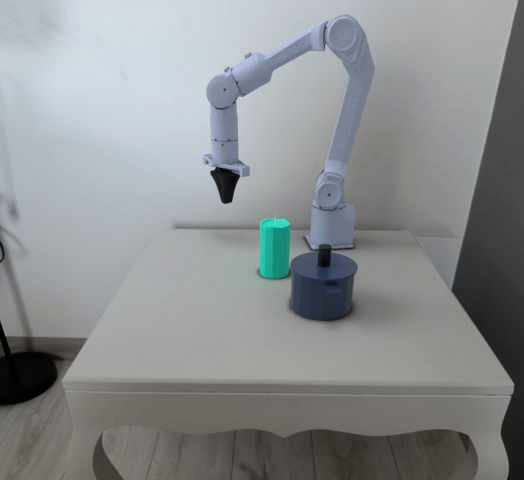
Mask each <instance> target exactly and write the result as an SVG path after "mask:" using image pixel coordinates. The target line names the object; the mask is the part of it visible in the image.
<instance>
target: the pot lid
mask: <svg viewBox="0 0 524 480" xmlns="http://www.w3.org/2000/svg"><path fill="white" fill-rule="evenodd" d="M317 250H318V251H310V252H304V253H301V254H298V255H296V256H295V257H293V258H292V259H291V260H290V262H289V269H290V271H291V272H292V271H293V272H294V273H295V274H296V275H298V276H300V277H302V278H305V279H308V280H312V281H319V282H336V281H342V280H346V279H348V278H351V277H352V276H354V275H355V276H356V274H357V273H358V268H359V267H358V264H357V262H356V261H355V260H354V259H353V258H351V257H350V256H347V255H344V254H341V253H338V252H332V250H333V249H332V246H331V245H329V244H320V245H319V249H317Z"/></svg>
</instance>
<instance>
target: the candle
mask: <svg viewBox="0 0 524 480" xmlns="http://www.w3.org/2000/svg"><path fill="white" fill-rule="evenodd" d="M291 227H292V226H291V222H289V221H288V220H287V219H285V218H277V217H276V214H274V217H268V218H264V219H262V220H260V222H259V274H260V275H261V276H262V277H264V278H267V279H272V280H273V279H275V280H276V279H282V278H286V277H288V275H289V274H290V253H291V249H290V248H291Z"/></svg>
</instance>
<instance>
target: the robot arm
mask: <svg viewBox="0 0 524 480" xmlns="http://www.w3.org/2000/svg"><path fill="white" fill-rule="evenodd" d="M366 33H367V32H365V30H364V28H363V27H362V26H361V24H360V23H359V21H358V20H357V19H356V18H355V17H354V16H353V15H351V14H349V13H341V14H338V15H335V16H334V17H332V19H331V20H330V19H327V20H325V21H322V22H319V23H317V24H314V25H312V26H309V27H308V28H306V29H304V30H303V31H301V32H300V33H298V34H296V35H295V36H293V37H292V38H290V39H289V40H287V41H286V42H284V43H283V44H281V45H280V46H278V47H276V48H275V49H273V50H272V51H270V52H269V53H267V54H264V53H262V52H259V51H255V52H253V53H252V51H249V52H248V53H246V54H244V56H243V57H244V59H242V60H241V61H239V62H237V63H236V64H234V65H232V66H229V65H228V66H226V67H224V68H223V72H224V73H220V74H217V75H214V76H213V78H211V79H210V80H209V82H208V83H207V84H206V90H205V95H206V98H207V101H208V102H209V111H210V113H209V114H210V115H209V122H210V126H209V127H210V143H211V153H206V154H202V163H203V164H204V165H208V166H209V167H211V168H214V169H213V170H210V171H209V174H210V176H211V178H212V180H213V181H214V184H215V185H216V188H217V191H218V195H219V198H220V199H219V200H220V201H221V203H222V204H224V205H228V204H232V203H233V201H234V200H233V199H234V195H235V191H236V187H237V184H238V183H239V180H240V178H245V177H249V176H251V166H250V165H248V164H246V163H244V162H243V161H242V160H241V159H239V118H238V117H239V116H238V104H237V103H238V102H237V100H238V99H239V97H240V98H244V97H246V96H248V95H249V94H252V93H253V92H254V91H256V90H258V89H260V88H261V87H263V86H265V85H266V84H269V83H270V82H271V80H272V77H273V72H274V71H276V70H278V69H279V68H281V67H283V66H285V65H286V64H288V63H290V62H292V61H294V60H296V59H297V58H299V57H302V56H303V55H304V54H306V53H309V52H325V51H326V46H327V48H328V49H329V50H330V52H332V54H334V55H335V57H337V58H338V59H339V60H340V61H341V63H342V65H343V67H344V69H345V70H346V72H347V74H348V78H347V82H346V86H345V90H344V92H343V93H344V94H343V97H342V101H341V105H340V108H339V111H338V115H337V119H336V123H335V127H334V130H333V134H332V138H331V141H330V146H329V149H328V152H327V157H326V159H325V163H324V166H323V168H322V170H321V171H320V172H319V174H318V175H317V176H316V180H315V187H314V188H315V189H314V193H313V198H314V199H313V200H312V202H311V217H310V218H311V219H310V233H309V234H306V235H305V236H304V237H305V239H306V241H307V243H308V244H309V246H310V248H311V250H314V251H315V250H318V249H319V245H320V244H329V245H331V246H332V250H335V249H336V250H337V249H351V248H352V249H353V248H354V245H353V244H354V232H355V224H356V211H355V207H354V204H352V203H346V201H345V200H344V199H345V179H346V175H347V171H348V170H347V169H348V165H349V161H350V158H351V154H352V151H353V147H354V144H355V141H356V137H357V134H358V131H359V127H360V125H361V124H360V123H361V120H362V117H363V113H364V110H365V106H366V103H367V100H368V96H369V93H370V89H371V86H372V82H373V79H374V76H375V69H376V68H375V64H374V60H373V56H372V53H371V49H370V45H369V41H368V37H367V34H366Z"/></svg>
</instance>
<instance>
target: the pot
mask: <svg viewBox="0 0 524 480" xmlns="http://www.w3.org/2000/svg"><path fill="white" fill-rule="evenodd" d="M355 276H356V274H355V275H354V276H352V277H351V278H348V279H346V280H342V281H336V282H319V281H312V280H308V279H305V278H302V277H300V276H298V275H296V274H295V273H294V272H293V271H292V270H291V283H290V307H291V309H292V311H294V313H296V314H298V315H299V316H301V317H304V318H306V319H310V320H315V321H316V320H317V321H332V320H337V319H340V318H343V317H345V316H346V315H348V314H349V313H350V311H351V307H352V302H353V294H354V284H355Z"/></svg>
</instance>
